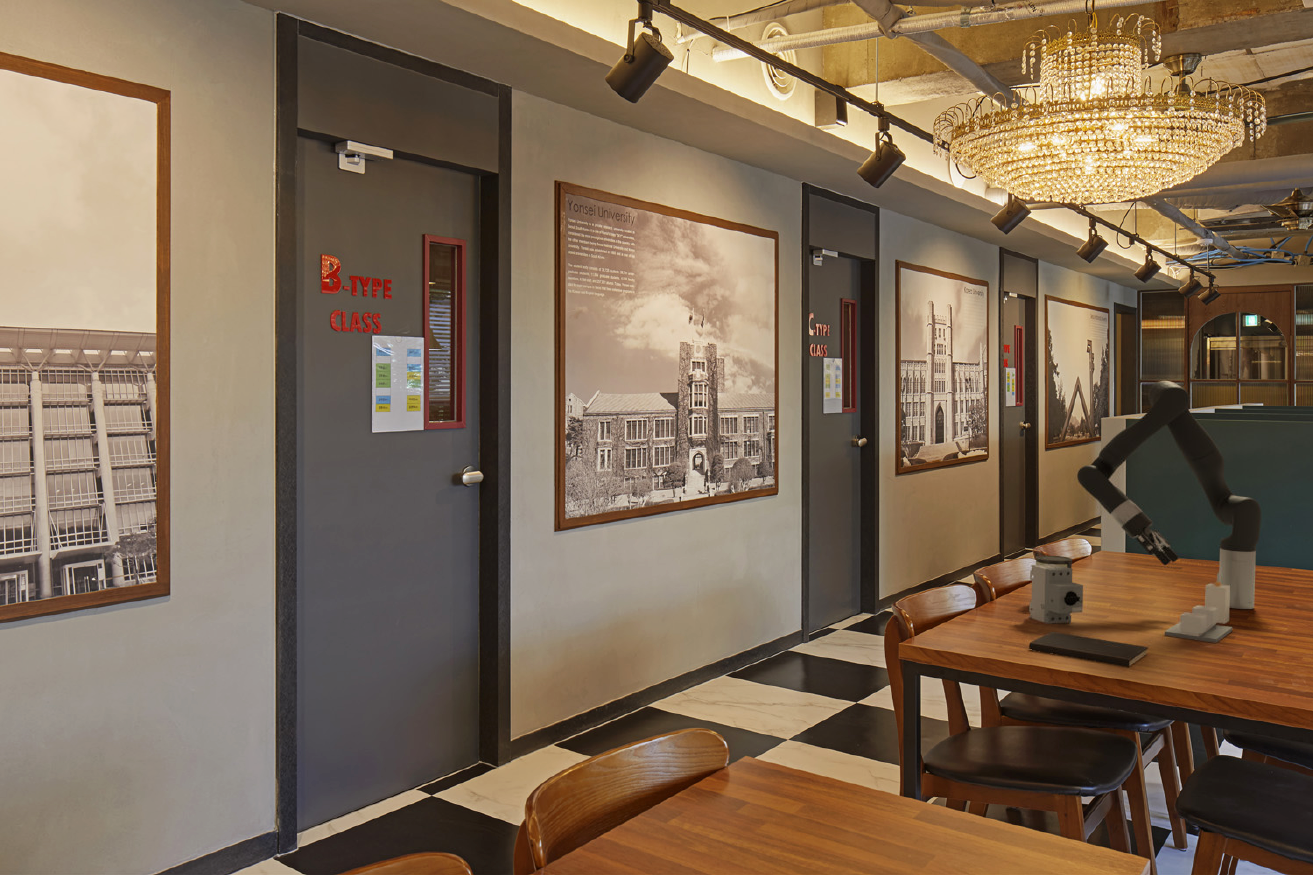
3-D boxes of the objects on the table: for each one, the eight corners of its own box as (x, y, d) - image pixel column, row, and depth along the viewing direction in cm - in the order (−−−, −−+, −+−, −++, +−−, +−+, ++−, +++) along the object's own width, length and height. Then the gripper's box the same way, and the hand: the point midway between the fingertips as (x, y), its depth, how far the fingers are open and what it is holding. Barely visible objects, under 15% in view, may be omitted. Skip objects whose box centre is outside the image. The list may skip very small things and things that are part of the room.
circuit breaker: (1062, 628, 260) (1064, 573, 259) (1029, 617, 274) (1030, 564, 273) (1086, 627, 262) (1087, 572, 261) (1051, 615, 276) (1052, 563, 275)
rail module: (1209, 617, 274) (1210, 579, 274) (1228, 620, 271) (1230, 582, 271) (1204, 620, 271) (1205, 582, 270) (1224, 623, 267) (1225, 584, 267)
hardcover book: (1051, 640, 249) (1051, 631, 249) (1148, 656, 234) (1148, 647, 234) (1028, 651, 237) (1029, 642, 237) (1128, 669, 222) (1129, 659, 222)
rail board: (1182, 623, 267) (1183, 602, 266) (1232, 630, 259) (1232, 609, 258) (1164, 635, 253) (1165, 613, 253) (1216, 643, 245) (1216, 620, 245)
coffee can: (1053, 599, 299) (1054, 554, 298) (1078, 606, 289) (1080, 559, 289) (1027, 601, 295) (1028, 556, 294) (1052, 608, 285) (1053, 561, 285)
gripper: (1133, 512, 278) (1176, 556, 271) (1148, 508, 289) (1189, 551, 281) (1113, 528, 282) (1155, 572, 275) (1128, 524, 293) (1168, 566, 285)
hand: (1172, 561), depth 278 cm, fingers open, 8 cm apart
